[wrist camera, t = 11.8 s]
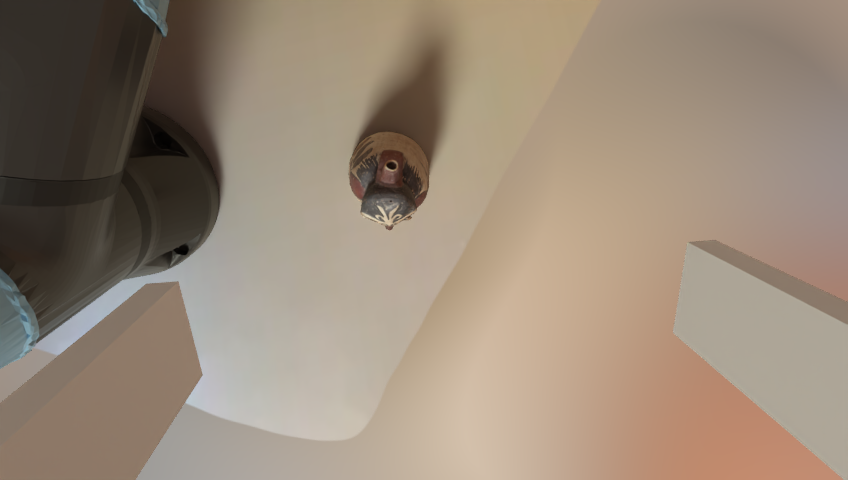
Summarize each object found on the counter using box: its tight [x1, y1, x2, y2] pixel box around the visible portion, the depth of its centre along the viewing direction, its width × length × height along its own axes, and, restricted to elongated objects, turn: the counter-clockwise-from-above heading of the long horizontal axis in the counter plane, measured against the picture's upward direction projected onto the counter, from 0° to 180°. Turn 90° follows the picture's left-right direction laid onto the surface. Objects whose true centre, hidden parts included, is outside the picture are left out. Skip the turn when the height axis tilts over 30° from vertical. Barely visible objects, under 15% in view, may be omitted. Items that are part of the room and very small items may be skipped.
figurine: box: [349, 132, 429, 230], centre depth 35 cm, size 7×7×12 cm
